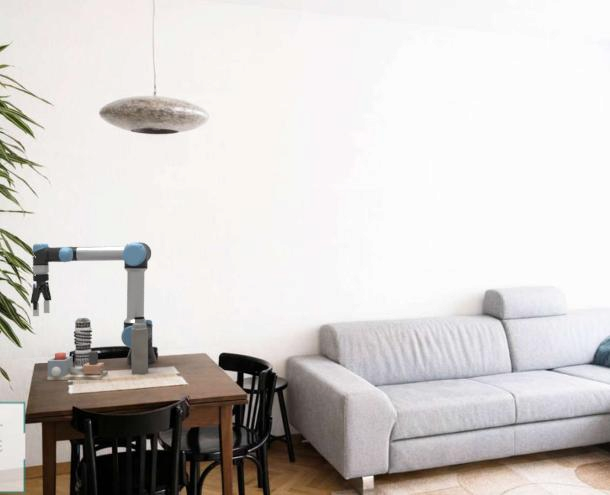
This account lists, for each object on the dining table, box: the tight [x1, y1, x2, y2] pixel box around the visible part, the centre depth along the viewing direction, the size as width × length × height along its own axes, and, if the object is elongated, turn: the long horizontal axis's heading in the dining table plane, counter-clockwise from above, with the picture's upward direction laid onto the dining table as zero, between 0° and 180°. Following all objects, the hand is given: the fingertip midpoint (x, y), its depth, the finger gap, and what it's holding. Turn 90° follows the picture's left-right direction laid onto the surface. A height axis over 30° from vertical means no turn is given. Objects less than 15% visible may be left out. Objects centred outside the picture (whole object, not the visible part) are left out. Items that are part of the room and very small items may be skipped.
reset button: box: [54, 352, 67, 360], centre depth 314 cm, size 5×5×3 cm
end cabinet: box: [47, 356, 74, 377], centre depth 314 cm, size 8×11×9 cm
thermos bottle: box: [130, 316, 149, 375], centre depth 323 cm, size 8×8×28 cm
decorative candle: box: [73, 317, 93, 367], centre depth 341 cm, size 9×9×25 cm
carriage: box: [83, 350, 105, 374], centre depth 314 cm, size 8×7×10 cm
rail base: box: [46, 366, 109, 381], centre depth 314 cm, size 25×12×4 cm, turn 90°
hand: (41, 314), depth 336 cm, fingers open, 13 cm apart
